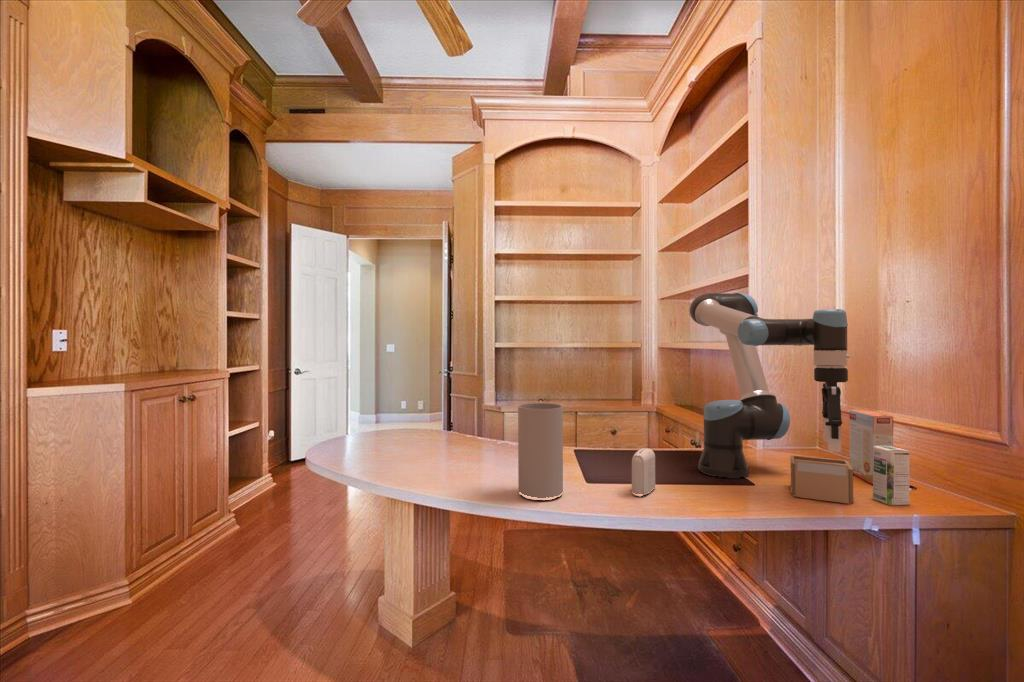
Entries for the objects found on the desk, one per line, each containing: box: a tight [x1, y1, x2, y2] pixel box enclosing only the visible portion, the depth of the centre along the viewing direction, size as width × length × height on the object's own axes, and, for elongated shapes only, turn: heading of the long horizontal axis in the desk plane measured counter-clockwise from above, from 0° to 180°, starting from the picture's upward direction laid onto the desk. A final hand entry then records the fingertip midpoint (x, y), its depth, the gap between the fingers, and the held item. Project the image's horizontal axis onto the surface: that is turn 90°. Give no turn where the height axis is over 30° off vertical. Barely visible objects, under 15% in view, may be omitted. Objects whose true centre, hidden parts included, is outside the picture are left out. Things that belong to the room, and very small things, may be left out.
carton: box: [790, 454, 854, 504], centre depth 134 cm, size 14×11×9 cm
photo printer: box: [631, 447, 656, 495], centre depth 136 cm, size 10×4×12 cm, turn 144°
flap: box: [794, 459, 850, 505], centre depth 128 cm, size 12×2×10 cm, turn 61°
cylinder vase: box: [517, 402, 564, 498], centre depth 134 cm, size 12×12×25 cm
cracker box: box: [849, 409, 895, 485], centre depth 147 cm, size 14×6×21 cm, turn 168°
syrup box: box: [872, 446, 911, 506], centre depth 127 cm, size 6×6×14 cm
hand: (831, 446), depth 127 cm, fingers open, 13 cm apart
